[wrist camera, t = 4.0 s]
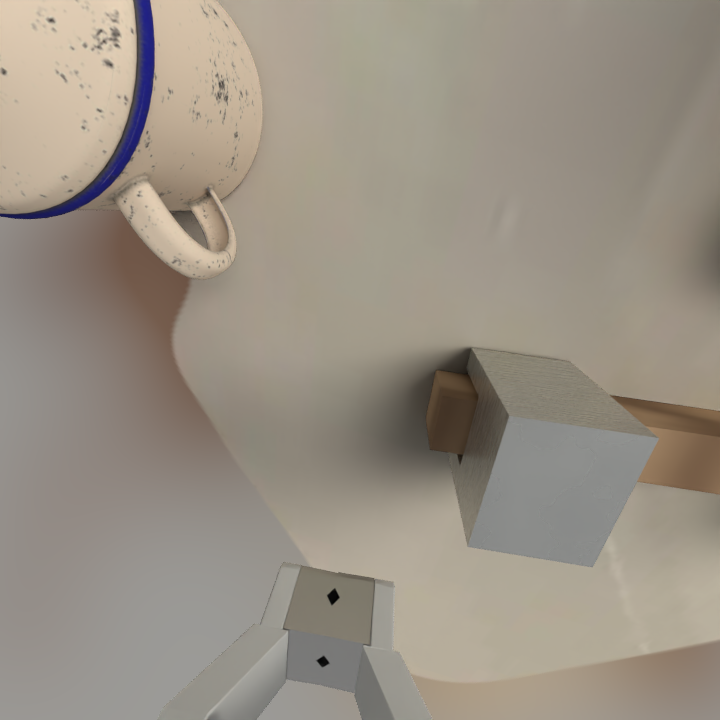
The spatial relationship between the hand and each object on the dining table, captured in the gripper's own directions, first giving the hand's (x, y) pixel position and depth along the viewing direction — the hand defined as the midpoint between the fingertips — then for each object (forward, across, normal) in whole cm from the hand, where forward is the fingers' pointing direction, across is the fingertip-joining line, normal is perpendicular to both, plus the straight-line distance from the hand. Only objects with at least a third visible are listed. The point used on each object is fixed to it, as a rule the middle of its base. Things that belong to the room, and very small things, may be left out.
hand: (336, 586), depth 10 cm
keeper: (+12, -7, 0) cm, 14 cm away
